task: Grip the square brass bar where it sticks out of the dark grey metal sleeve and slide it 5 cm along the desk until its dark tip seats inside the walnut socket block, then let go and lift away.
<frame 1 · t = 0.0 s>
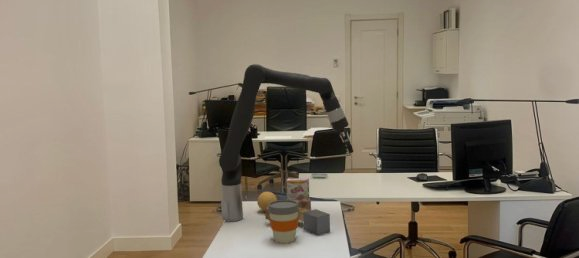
hand: (351, 151, 215), 31 cm above the table, tool tilted 20°, fingers open, 8 cm apart
walnut socket: (288, 219, 219), on the table
reusable coffee cup: (284, 239, 194), on the table
candy bar box: (298, 212, 231), on the table
grey sleeve: (316, 231, 202), on the table
brass bar: (307, 216, 207), point 5 cm above the table, slide at 0.0 cm
stress ball: (268, 211, 234), on the table
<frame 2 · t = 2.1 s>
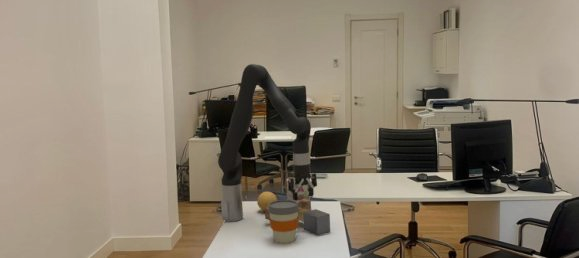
hand: (303, 198, 208), 13 cm above the table, tool pointing down, fingers open, 8 cm apart
nothing on the table moved.
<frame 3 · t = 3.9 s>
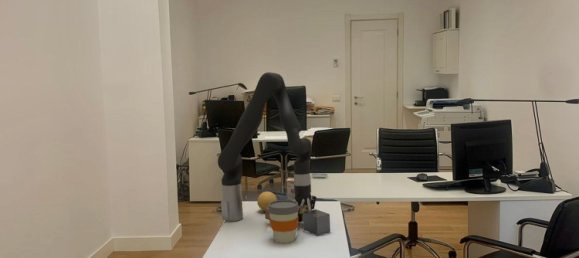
hand: (303, 220, 209), 3 cm above the table, tool pointing down, fingers closed on brass bar, 4 cm apart
brass bar: (307, 216, 207), point 5 cm above the table, slide at 0.0 cm, touching gripper
everything else where it was.
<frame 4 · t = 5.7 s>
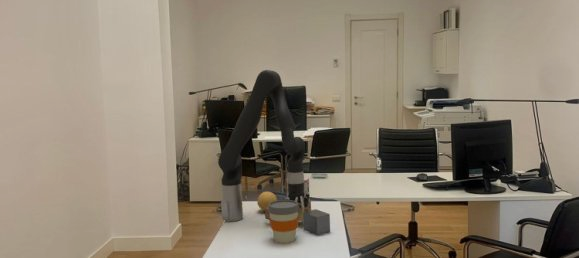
hand: (297, 217, 213), 3 cm above the table, tool pointing down, fingers closed on brass bar, 4 cm apart
brass bar: (300, 213, 211), point 5 cm above the table, slide at 5.0 cm, touching gripper
everything else where it was.
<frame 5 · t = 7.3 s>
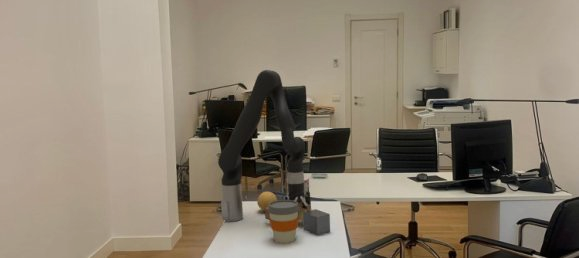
hand: (297, 216, 213), 3 cm above the table, tool pointing down, fingers open, 8 cm apart
brass bar: (300, 213, 211), point 5 cm above the table, slide at 5.0 cm
everything else where it was.
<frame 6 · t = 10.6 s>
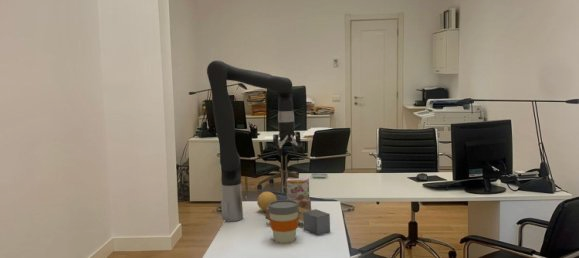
hand: (287, 154, 220), 30 cm above the table, tool pointing down, fingers open, 8 cm apart
nothing on the table moved.
at the end: brass bar slide at 5.0 cm; the gripper is holding nothing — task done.
